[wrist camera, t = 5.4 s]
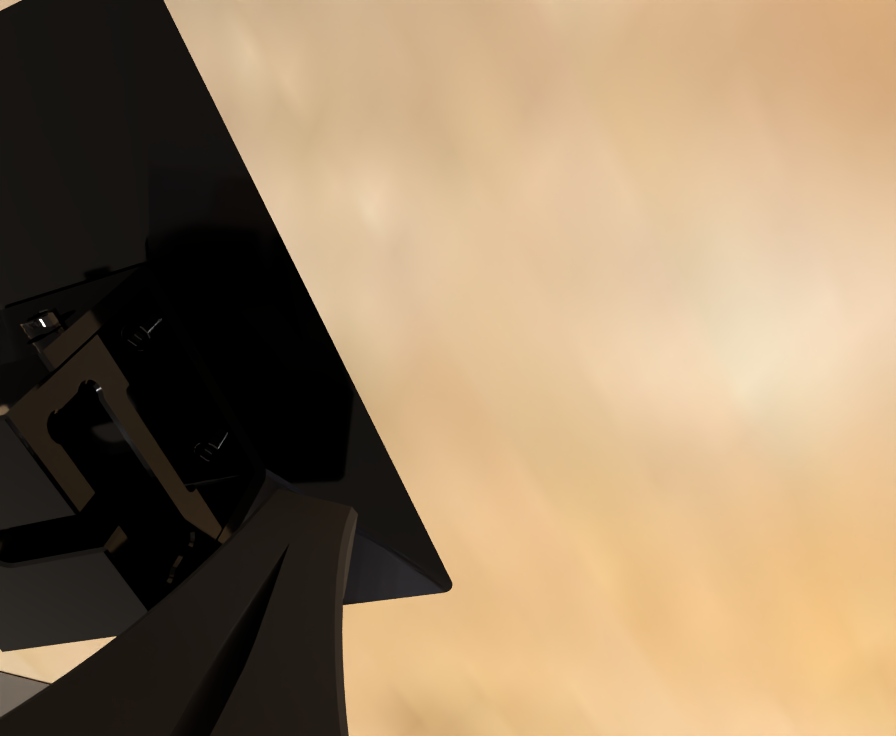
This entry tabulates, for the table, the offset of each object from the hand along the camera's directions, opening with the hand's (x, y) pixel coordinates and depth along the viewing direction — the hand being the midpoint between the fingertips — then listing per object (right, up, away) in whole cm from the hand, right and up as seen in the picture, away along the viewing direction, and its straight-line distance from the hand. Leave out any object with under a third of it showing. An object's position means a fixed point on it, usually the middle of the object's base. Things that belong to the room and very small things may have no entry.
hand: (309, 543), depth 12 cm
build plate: (-3, +3, +2) cm, 4 cm away
